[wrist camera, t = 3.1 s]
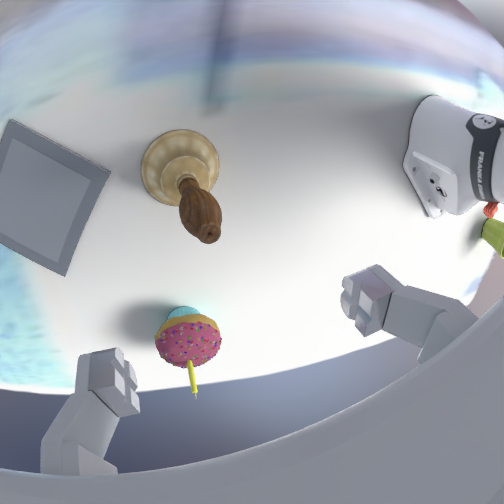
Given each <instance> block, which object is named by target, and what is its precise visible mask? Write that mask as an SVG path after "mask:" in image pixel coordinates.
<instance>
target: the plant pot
mask: <svg viewBox="0 0 504 504" xmlns="http://www.w3.org/2000/svg"><path fill="white" fill-rule="evenodd" d="M482 238H483V239H484V240H486V241H487V242H488V243H489V244H490V245H491V246H492V247H493V248H494V249H495V250H496V251H497V252H498V254H499V255H500V257H501V258H502V259H503V258H504V223H503V222H500V221H498V220H495V219H493V218H489V219H487V220H486V222H485V224H484V226H483V232H482Z"/></svg>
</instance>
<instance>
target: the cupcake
mask: <svg viewBox="0 0 504 504" xmlns="http://www.w3.org/2000/svg"><path fill="white" fill-rule="evenodd" d="M221 340H222V338H221V337H220V331H219V329H218V327H217V324H216V323H215V321H214V320H212V319H210V318H208V317H206V316H205V315H202V314H200V313H199V312H198V311H197V310H196V309H194V308H192V307H179V308H177V309H175V310H173V311H172V312H171V313H170V314H169V316H168V319H167V321H166V322H165V323H164V324H163V325H162V326H161V327H160V329H159V330H158V332H157V334H156V335H155V344H156V347H157V349H158V351H159V354H160V357H161V358H163V359H165V361H166V362H168V363H171V364H173V366H178V367H181V368H183V367H184V368H188V372H189V378H190V384H191V389H192V393H194V396H195V399H196V398H197V397H196V393H197V386H196V381H195V375H194V370H193V367H195V366H196V367H197V366H200V365H203V363H206V362H207V361H208V360H211V358H213V356H215V355H216V354H217V351H218V350H219V349H220V345H221Z"/></svg>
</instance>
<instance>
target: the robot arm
mask: <svg viewBox="0 0 504 504" xmlns="http://www.w3.org/2000/svg"><path fill="white" fill-rule="evenodd" d="M403 168H404V170H405V172H406V174H407V175H408V177H409V179H410V181H411V183H412V184H413V186H414V188H415V190H416V192H417V194H418V196H419V197H420V199H421V201H422V203H423V205H424V207H425V209H426V211H427V213H428V215H429V217H431V218H433V219H434V218H438V217H440V216H442V215H443V214H444V213H446V212H448V213H450V214H453V215H461V214H464V213H465V212H467V211H468V210H469V209H470V208H472V207H473V206H474V205H476V204H477V203H478V202H479V201H486V202H488V204H487V205H486V206H485V207H484V209H483V212H484V214H485V215H486V216H487V217H488V218H493V216H494V214H495V212H497V210H498V207H497V204H498V203H500V202H501V203H502V204H504V120H502V119H499V118H496V117H493V116H489V115H485V114H478V113H474V112H472V111H469V110H467V109H464V108H462V107H460V106H458V105H455V104H453V103H451V102H449V101H447V100H446V99H444V98H442V97H440V96H437V95H433V96H429V97H427V98H426V99H424V100H423V101H422V102H421V104H420V105H419V106H418V108H417V110H416V112H415V114H414V117H413V120H412V123H411V128H410V137H409V146H408V150H407V152H406V155H405V158H404V161H403ZM342 287H343V288H344V289H345V290H344V291H343V293H342V294H341V301H340V302H341V306H342V309H343V311H344V313H345V315H346V316H347V317H348V318H350V319H353V320H355V327H356V328H357V329H358V330H359V331H360V332H361V334H362V335H363V336H364V337H366V336H368V335H370V334H372V333H375V332H377V331H379V330H381V329H382V330H384V331H386V332H388V333H390V334H392V335H394V336H397V337H399V338H401V339H403V340H405V341H407V342H410V343H412V344H414V345H416V346H418V347H421V348H422V350H421V352H420V354H419V356H418V360H417V361H418V362H419V363H420V364H421V365H420V366H418V367H417V368H415V369H414V370H412V371H411V372H409V373H408V374H406V375H404V376H403V377H401V378H400V379H398V380H397V381H395V382H393V383H392V384H390V385H388V386H387V387H385V388H383V389H382V390H380V391H378V392H377V393H375V394H373V395H371V396H369V397H368V398H366V399H364V400H362V401H360V402H358V403H357V404H355V405H353V406H351V407H349V408H347V409H345V410H343V411H341V412H339V413H337V414H335V415H333V416H331V417H328V418H326V419H324V420H322V421H320V422H318V423H315V424H313V425H311V426H308V427H306V428H304V429H302V430H299V431H296V432H294V433H291V434H289V435H286V436H283V437H281V438H278V439H275V440H273V441H270V442H267V443H264V444H261V445H258V446H255V447H252V448H249V449H246V450H242V451H239V452H235V453H232V454H229V455H225V456H222V457H217V458H213V459H209V460H205V461H201V462H196V463H192V464H187V465H182V466H176V467H171V468H165V469H158V470H151V471H144V472H135V473H124V474H118V473H117V468H116V467H115V466H113V465H112V464H110V463H108V462H106V461H105V460H103V458H104V455H105V453H106V450H107V448H108V445H109V443H110V440H111V438H112V435H113V433H114V431H115V428H116V426H117V423H118V421H119V418H118V417H124V416H129V415H133V414H138V413H140V407H139V397H138V396H137V395H136V393H135V390H136V389H137V387H138V386H137V378H136V375H135V371H134V369H133V367H132V365H131V364H130V362H128V361H126V360H124V354H123V352H122V351H121V350H120V348H117V347H116V348H112V349H107V350H102V351H97V352H92V353H88V354H83V355H80V356H79V358H78V364H77V373H76V383H75V393H73V394H71V395H70V397H69V398H68V400H67V401H66V403H65V404H64V406H63V407H62V409H61V410H60V412H59V414H58V415H57V417H56V418H55V420H54V421H53V423H52V424H51V426H50V428H49V429H48V431H47V433H46V434H45V436H44V437H43V439H42V441H41V474H38V473H28V472H20V471H13V470H7V469H1V468H0V504H504V296H503V297H502V298H501V299H500V300H499V301H498V302H497V303H495V304H494V306H493V307H491V308H490V309H489V310H488V311H487V312H486V313H485V314H484V315H483V316H482V317H480V318H478V317H477V316H476V315H474V313H472V312H471V311H470V310H469V309H468V308H467V307H466V306H465V305H463V304H462V303H461V302H460V301H459V300H457V299H453V298H450V297H446V296H443V295H439V294H436V293H432V292H429V291H425V290H422V289H418V288H415V287H411V286H408V285H407V286H403V285H402V284H401V283H400V282H399V281H398V280H397V279H395V278H394V277H393V276H392V275H391V274H390V273H388V272H387V271H386V270H385V269H384V268H383V267H381V266H380V265H377V264H376V265H373V266H371V267H368V268H366V269H363V270H361V271H358V272H356V273H353V274H351V275H348V276H346V277H344V278H343V280H342Z"/></svg>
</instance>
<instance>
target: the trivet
mask: <svg viewBox="0 0 504 504" xmlns="http://www.w3.org/2000/svg"><path fill="white" fill-rule="evenodd" d="M110 173H111V172H109V171H107V170H106V169H104V168H102V167H100V166H98V165H96V164H95V163H93V162H91V161H89V160H87V159H85V158H83V157H82V156H80V155H78V154H76V153H74V152H72V151H70V150H69V149H67V148H65V147H63V146H61V145H59V144H57V143H56V142H54V141H52V140H50V139H48V138H46V137H44V136H43V135H41V134H39V133H37V132H35V131H33V130H31V129H30V128H28V127H26V126H24V125H22V124H20V123H18V122H17V121H15V120H13V119H10V120H9V122H8V124H7V127H6V129H5V132H4V135H3V137H2V140H1V143H0V243H1V244H3V245H4V246H6V247H8V248H10V249H12V250H13V251H15V252H17V253H19V254H21V255H23V256H24V257H26V258H28V259H30V260H32V261H34V262H36V263H38V264H40V265H42V266H44V267H46V268H48V269H50V270H52V271H54V272H56V273H58V274H60V275H62V276H64V277H65V276H66V273H67V270H68V267H69V265H70V262H71V259H72V257H73V254H74V251H75V249H76V246H77V244H78V241H79V239H80V236H81V234H82V232H83V229H84V227H85V225H86V222H87V220H88V218H89V216H90V213H91V211H92V209H93V207H94V205H95V203H96V201H97V199H98V197H99V195H100V193H101V191H102V189H103V187H104V185H105V183H106V181H107V179H108V177H109V175H110Z"/></svg>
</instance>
